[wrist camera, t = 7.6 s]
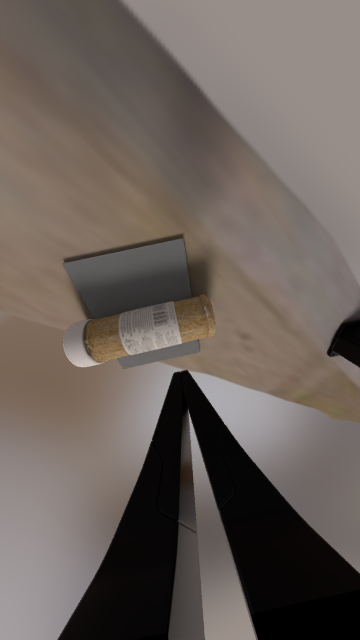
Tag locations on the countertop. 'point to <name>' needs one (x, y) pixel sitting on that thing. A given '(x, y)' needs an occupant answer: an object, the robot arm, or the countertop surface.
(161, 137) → the countertop surface
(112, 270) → the mat
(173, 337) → the sprinkles bottle
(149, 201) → the countertop surface
